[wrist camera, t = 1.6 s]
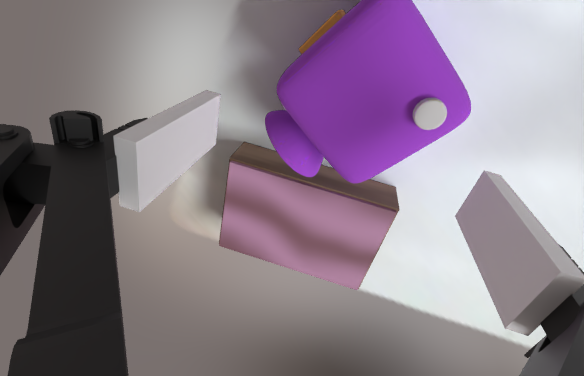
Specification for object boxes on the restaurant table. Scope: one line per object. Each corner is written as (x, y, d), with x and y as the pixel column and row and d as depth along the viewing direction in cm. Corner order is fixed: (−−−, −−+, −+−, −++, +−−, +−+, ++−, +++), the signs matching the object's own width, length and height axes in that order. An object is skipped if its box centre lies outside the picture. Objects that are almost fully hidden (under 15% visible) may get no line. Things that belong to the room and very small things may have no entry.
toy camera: (262, 106, 30) (220, 145, 21) (365, -34, 23) (364, -58, 14) (345, 176, 31) (337, 238, 23) (464, 67, 24) (515, 97, 16)
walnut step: (244, 141, 32) (228, 159, 28) (395, 187, 31) (399, 211, 27) (232, 222, 38) (217, 246, 34) (359, 263, 37) (358, 292, 33)
